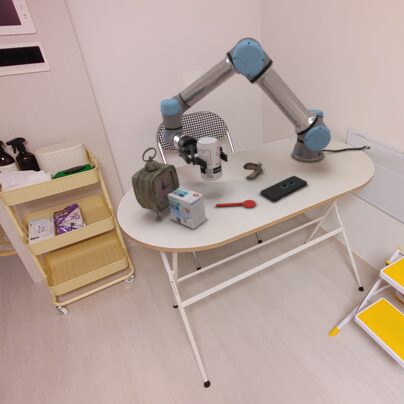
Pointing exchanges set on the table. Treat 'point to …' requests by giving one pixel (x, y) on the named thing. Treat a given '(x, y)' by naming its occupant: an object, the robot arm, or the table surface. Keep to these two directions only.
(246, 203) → the red spoon
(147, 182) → the tabletop clock
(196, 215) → the light bulb box
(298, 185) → the smart home device
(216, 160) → the supplement can
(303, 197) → the table surface
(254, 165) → the eagle figurine
